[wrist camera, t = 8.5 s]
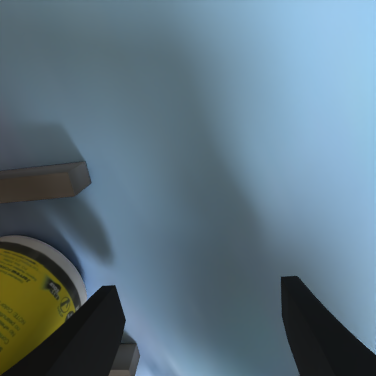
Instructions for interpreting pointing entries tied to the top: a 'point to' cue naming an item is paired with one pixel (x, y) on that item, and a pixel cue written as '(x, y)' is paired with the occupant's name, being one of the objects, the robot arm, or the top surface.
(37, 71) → the top surface
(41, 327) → the pill bottle
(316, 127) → the top surface
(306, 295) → the robot arm
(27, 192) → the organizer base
